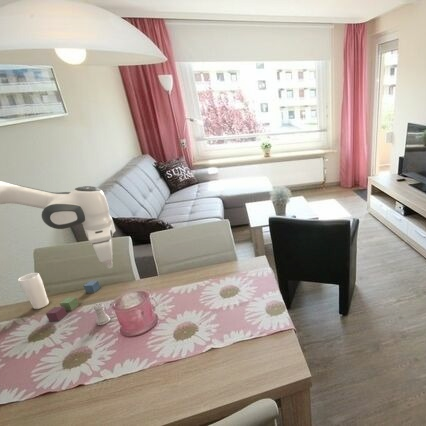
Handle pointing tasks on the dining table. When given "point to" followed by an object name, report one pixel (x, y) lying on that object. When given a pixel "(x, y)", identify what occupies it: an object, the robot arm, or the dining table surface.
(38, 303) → the white tall hollow cylinder
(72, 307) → the block
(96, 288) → the block
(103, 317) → the rook chess piece
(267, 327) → the dining table surface
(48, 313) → the block
